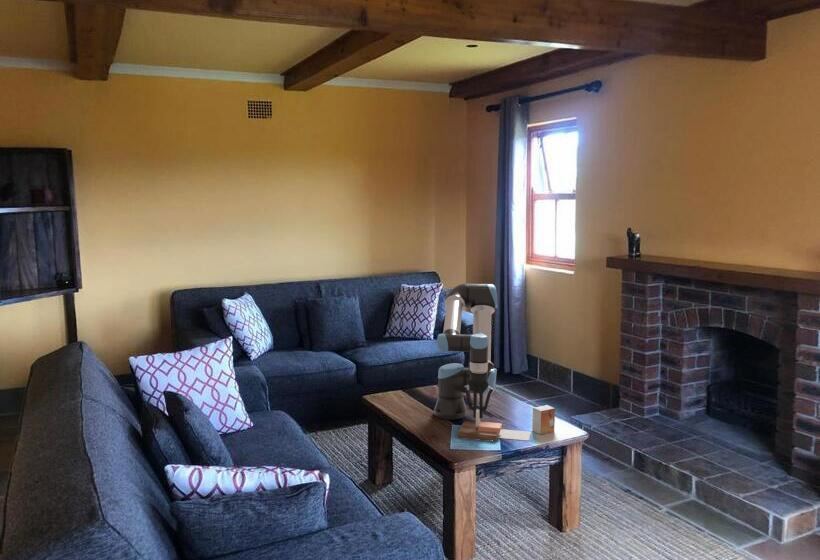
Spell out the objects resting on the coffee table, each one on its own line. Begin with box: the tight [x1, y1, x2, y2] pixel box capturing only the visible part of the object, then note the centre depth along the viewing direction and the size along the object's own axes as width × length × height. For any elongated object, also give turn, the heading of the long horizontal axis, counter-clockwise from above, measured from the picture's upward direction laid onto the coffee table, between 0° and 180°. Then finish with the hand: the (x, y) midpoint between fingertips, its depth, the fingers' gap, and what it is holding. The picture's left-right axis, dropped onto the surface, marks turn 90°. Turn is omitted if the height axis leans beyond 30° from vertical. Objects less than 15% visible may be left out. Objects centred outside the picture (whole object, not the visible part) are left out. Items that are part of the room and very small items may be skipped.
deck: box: [457, 420, 499, 442], centre depth 283 cm, size 14×16×2 cm
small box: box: [531, 404, 556, 435], centre depth 285 cm, size 8×6×10 cm
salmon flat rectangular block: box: [478, 420, 503, 433], centre depth 281 cm, size 9×6×2 cm, turn 74°
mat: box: [497, 428, 532, 442], centre depth 281 cm, size 10×13×1 cm
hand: (478, 425), depth 282 cm, fingers closed
